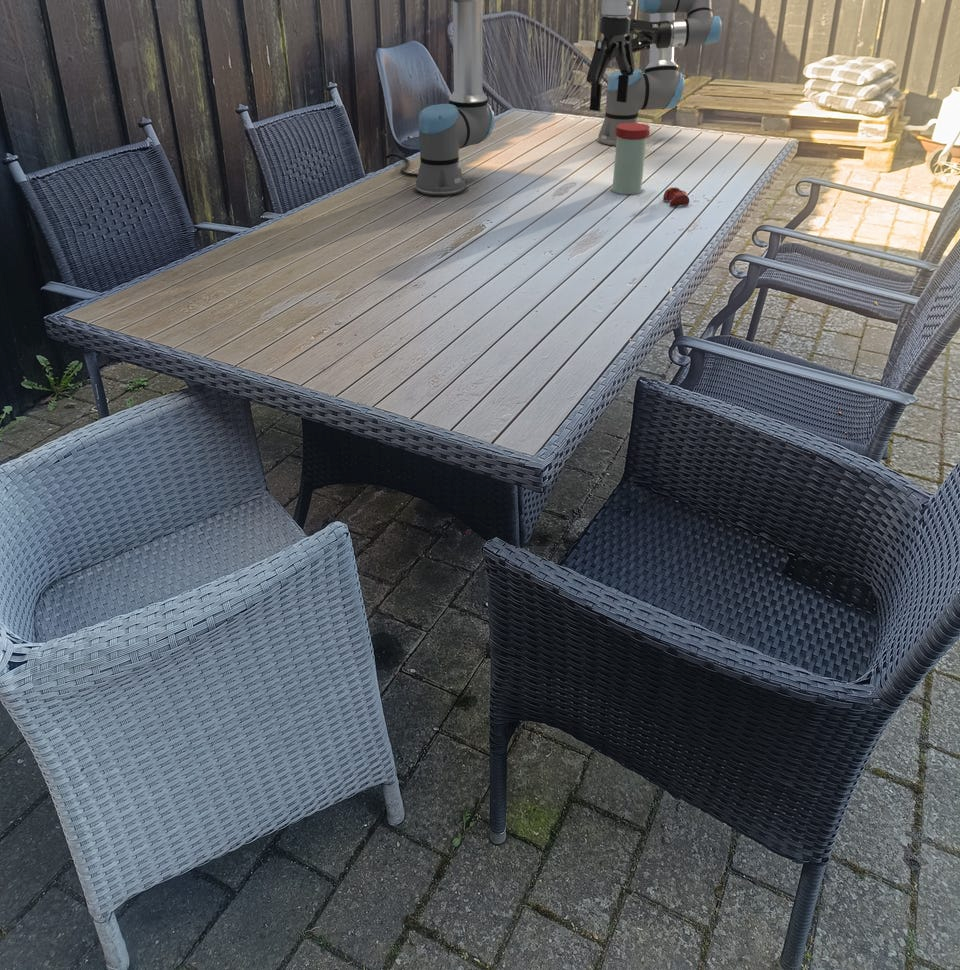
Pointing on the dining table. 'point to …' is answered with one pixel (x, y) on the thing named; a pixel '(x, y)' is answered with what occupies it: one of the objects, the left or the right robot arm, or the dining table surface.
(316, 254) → the dining table surface
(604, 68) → the left robot arm
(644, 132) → the lid
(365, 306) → the dining table surface
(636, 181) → the jar
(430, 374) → the dining table surface
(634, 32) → the right robot arm
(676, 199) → the dental model
